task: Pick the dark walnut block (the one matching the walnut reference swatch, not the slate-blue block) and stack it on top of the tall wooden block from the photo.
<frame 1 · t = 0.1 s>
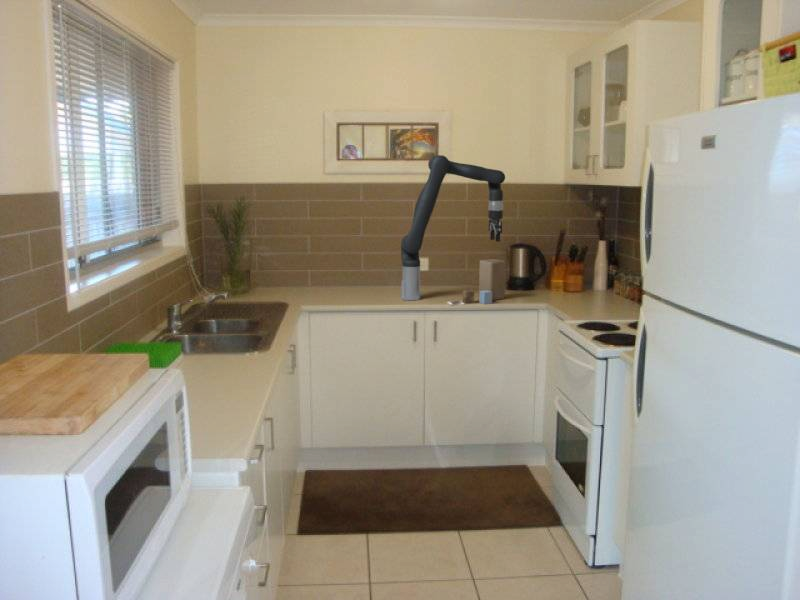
hand: (495, 240, 369), 29 cm above the worktop, fingers open, 8 cm apart
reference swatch: (455, 303, 353), on the worktop
wooden block: (491, 298, 366), on the worktop
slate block: (485, 303, 354), on the worktop
walnut block: (468, 302, 355), on the worktop
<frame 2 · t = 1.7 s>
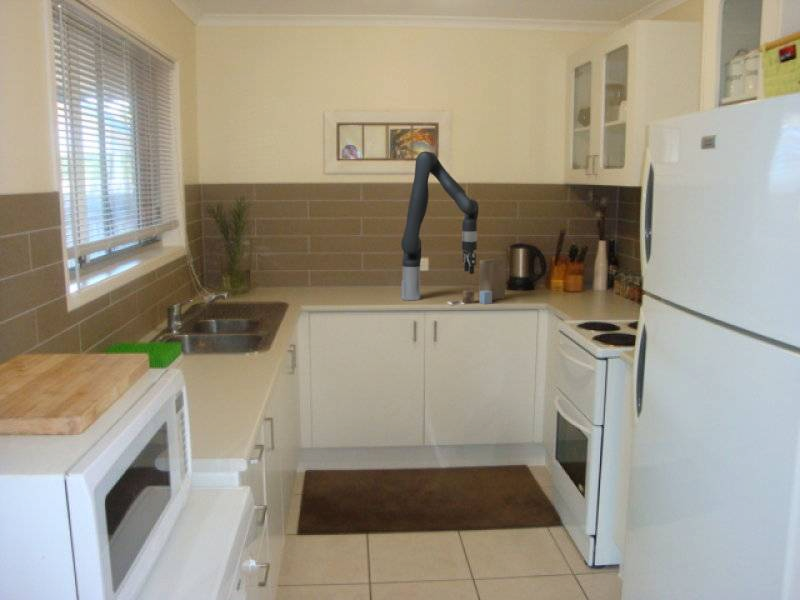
hand: (469, 272, 353), 15 cm above the worktop, fingers open, 8 cm apart
nothing on the worktop moved.
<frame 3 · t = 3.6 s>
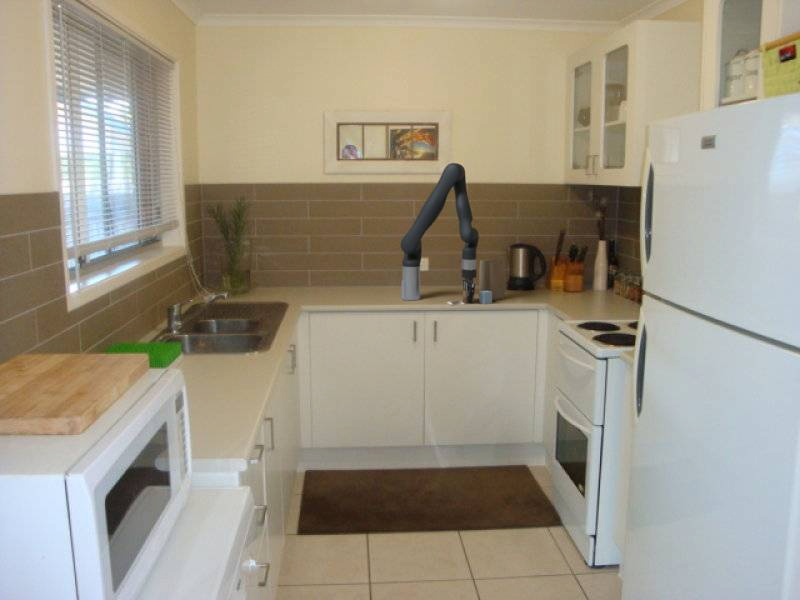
hand: (468, 301, 355), 1 cm above the worktop, fingers closed on walnut block, 4 cm apart
walnut block: (468, 302, 355), on the worktop, touching gripper
everything else where it was.
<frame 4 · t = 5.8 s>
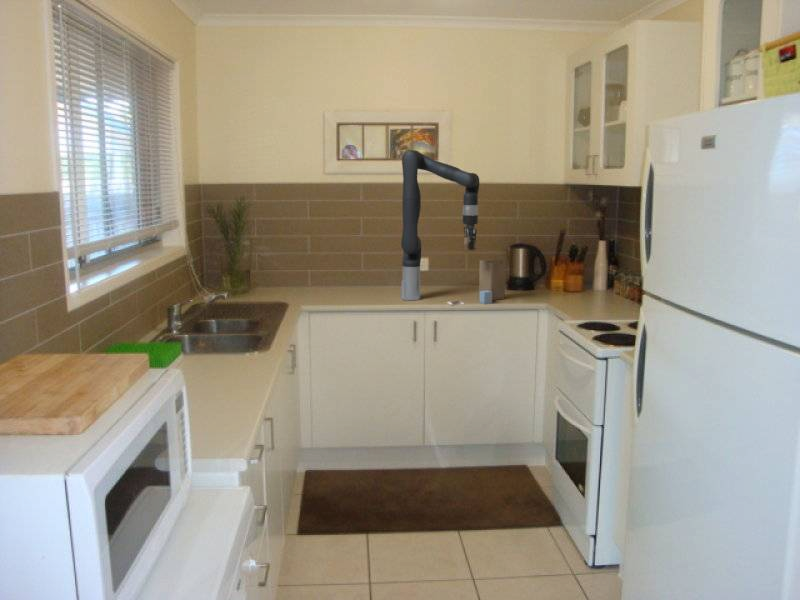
hand: (469, 248, 350), 27 cm above the worktop, fingers closed on walnut block, 4 cm apart
walnut block: (469, 249, 351), point 27 cm above the worktop, touching gripper
everything else where it was.
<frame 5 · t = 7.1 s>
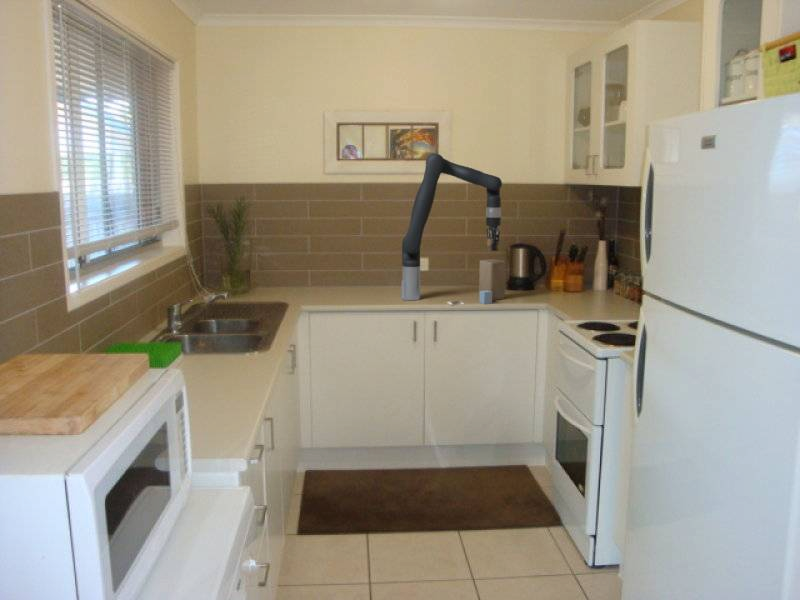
hand: (492, 249, 361), 25 cm above the worktop, fingers closed on walnut block, 4 cm apart
walnut block: (492, 250, 361), point 25 cm above the worktop, touching gripper
everything else where it was.
when the fingers open (22 cm above the worktop, at t = 8.1 s): walnut block drops 1 cm, resting on wooden block.
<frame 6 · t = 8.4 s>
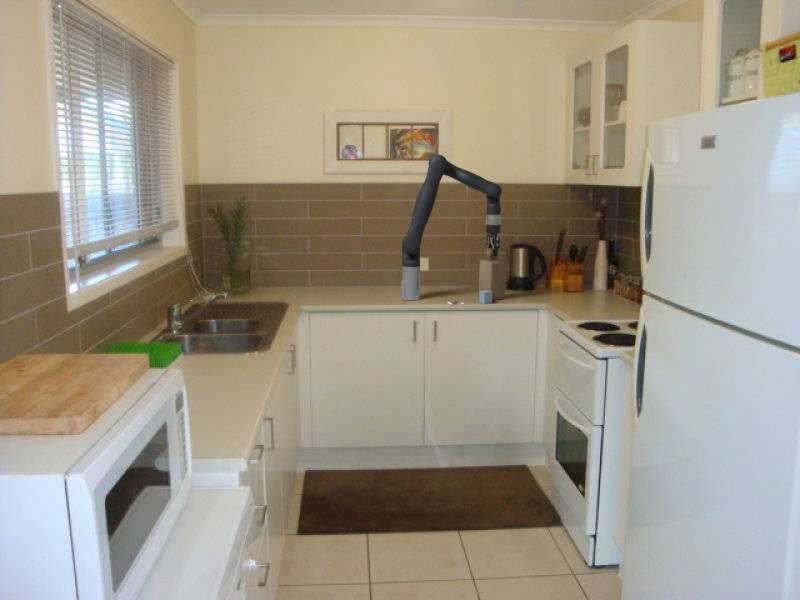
hand: (492, 255, 362), 22 cm above the worktop, fingers open, 7 cm apart
wooden block: (491, 298, 366), on the worktop, touching walnut block
walnut block: (492, 260, 362), point 20 cm above the worktop, touching wooden block
everything else where it was.
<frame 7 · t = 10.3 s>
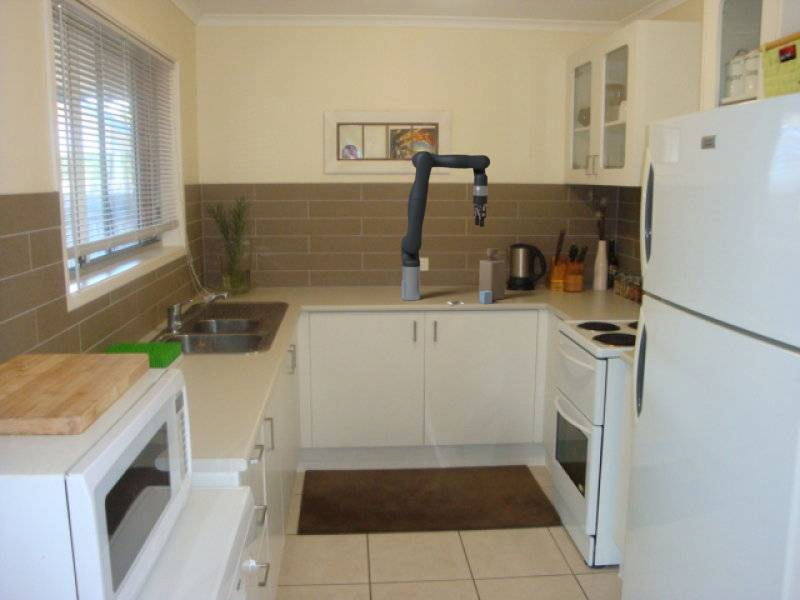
hand: (479, 226, 367), 37 cm above the worktop, fingers open, 8 cm apart
nothing on the worktop moved.
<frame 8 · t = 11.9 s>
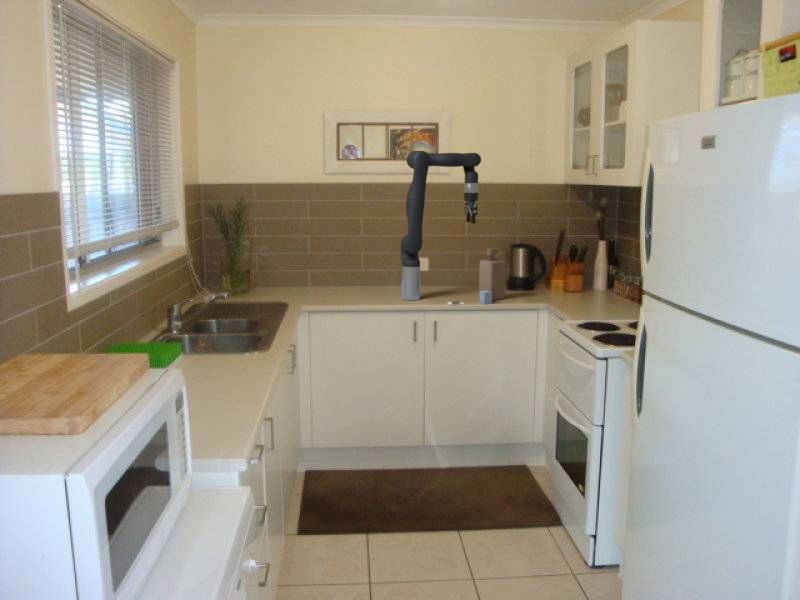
hand: (470, 222, 373), 38 cm above the worktop, fingers open, 8 cm apart
nothing on the worktop moved.
at the end: walnut block inside the target area (0.1 cm from its centre), point 19.9 cm above the worktop; walnut block tilted 0°; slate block moved 0.1 cm from its start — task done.
